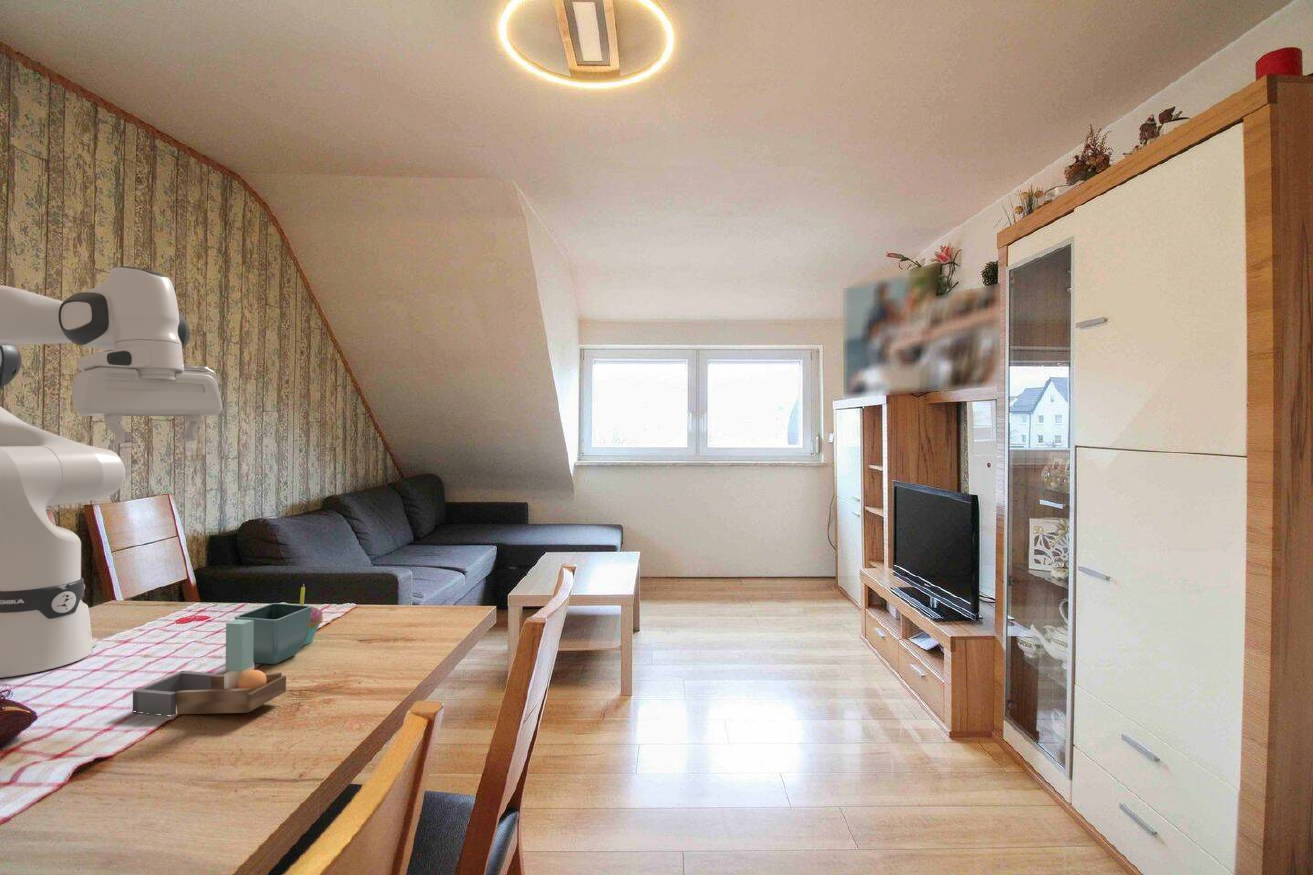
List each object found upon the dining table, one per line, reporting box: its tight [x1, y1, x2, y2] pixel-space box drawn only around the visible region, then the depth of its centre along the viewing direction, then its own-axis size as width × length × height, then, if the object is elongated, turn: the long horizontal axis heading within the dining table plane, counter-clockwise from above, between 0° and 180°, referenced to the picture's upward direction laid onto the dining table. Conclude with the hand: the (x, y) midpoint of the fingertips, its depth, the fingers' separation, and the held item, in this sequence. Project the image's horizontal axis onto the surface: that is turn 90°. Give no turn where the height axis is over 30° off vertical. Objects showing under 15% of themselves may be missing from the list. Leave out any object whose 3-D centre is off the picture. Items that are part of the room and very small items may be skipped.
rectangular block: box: [223, 619, 255, 689], centre depth 87 cm, size 3×4×11 cm, turn 171°
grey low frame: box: [132, 670, 219, 716], centre depth 89 cm, size 7×8×3 cm
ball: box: [237, 669, 267, 692], centre depth 87 cm, size 4×4×4 cm
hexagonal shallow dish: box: [175, 672, 287, 715], centre depth 88 cm, size 13×6×4 cm, turn 81°
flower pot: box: [234, 602, 313, 665], centre depth 107 cm, size 9×9×9 cm
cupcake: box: [299, 583, 324, 646], centre depth 115 cm, size 9×8×12 cm
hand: (157, 442), depth 99 cm, fingers open, 8 cm apart
